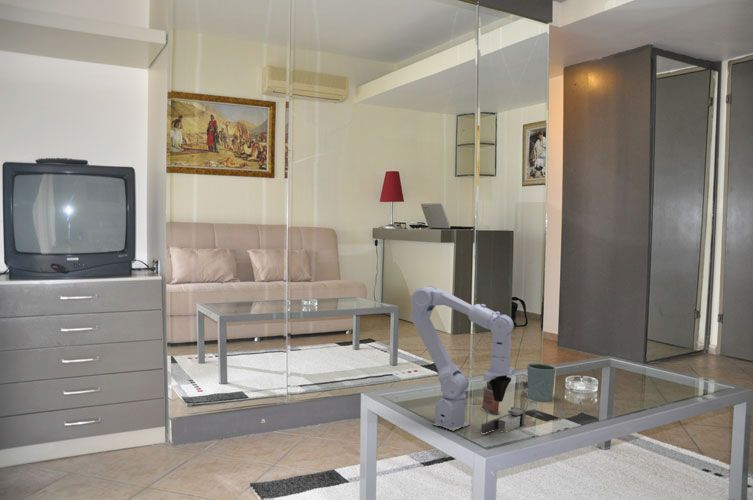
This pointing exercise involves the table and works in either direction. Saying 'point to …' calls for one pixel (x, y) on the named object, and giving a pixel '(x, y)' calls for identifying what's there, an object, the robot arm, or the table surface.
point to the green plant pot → (540, 382)
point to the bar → (509, 423)
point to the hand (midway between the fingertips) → (498, 400)
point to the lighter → (490, 401)
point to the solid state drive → (540, 415)
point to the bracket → (494, 423)
